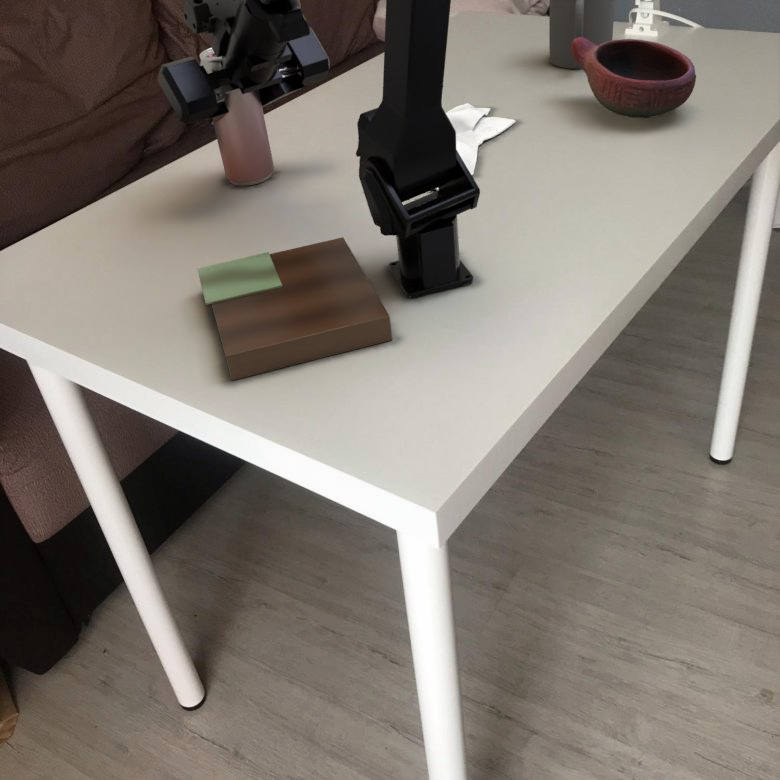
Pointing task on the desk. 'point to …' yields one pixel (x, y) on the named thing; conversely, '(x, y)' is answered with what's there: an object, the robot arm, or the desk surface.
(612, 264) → the desk surface
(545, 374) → the desk surface
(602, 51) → the bowl
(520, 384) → the desk surface
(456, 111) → the cloth
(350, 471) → the desk surface
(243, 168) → the beverage can
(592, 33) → the mug
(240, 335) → the brown wooden board
